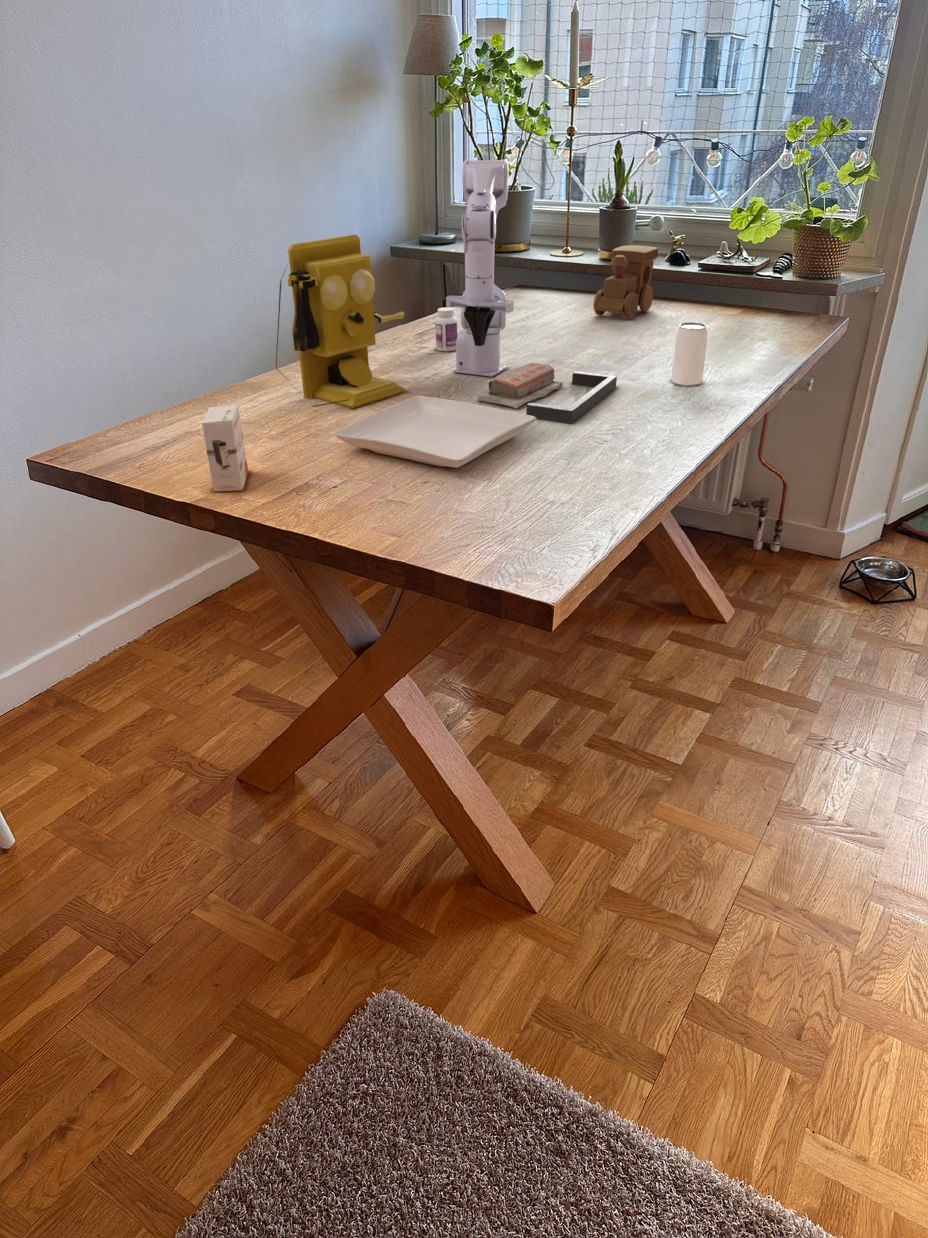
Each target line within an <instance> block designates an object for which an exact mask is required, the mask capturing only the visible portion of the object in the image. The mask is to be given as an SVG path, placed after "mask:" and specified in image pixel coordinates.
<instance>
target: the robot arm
mask: <svg viewBox="0 0 928 1238" xmlns="http://www.w3.org/2000/svg"><path fill="white" fill-rule="evenodd" d="M509 165H510V164H509V161H508V160H507V159H505V158H504V159H487V160H486V159H485V160H483V159H482V160H481V159H480V160H479V159H478V160H475V159H474V160H468V159H464V161H463V162H462V167H461V178H462V179H461V183H462V191H463V200H464V202H465V204H464V205H465V206H466V211H465V214H464V213H463V214H462V217H461V237H462V243H463V253H464V272H465V273H464V282H465V283H464V284H465V285H464V287H465V288H464V289H465V290H464V291H463V292H462V293H463V294H461V295H448V296H446V297H445V307H449V308H460V326H461V328H462V329H461V330H460V331H459V332H458V333H457V334H458V336H457V340H456V350H455V358H456V359H455V361H456V362H455V363H456V364H455V365H456V369H455V370H454V372H455V373H457V374H458V373H459V374H465V375H466V374H467V375H475V376H482V377H489V378H490V377H491V378H493V377H494V376H496V375H497V374H499V373H501V372H503V371H504V370H506V369H507V366H506V365H501V361H500V358H501V357H500V353H501V352H500V351H501V330H502V331H503V330H504V329H505V328H506V325H507V314H508V313H509V314H510V313H512V312H514V311H515V307H514V306H515V301H514V300H509V299H506V294H505V292H504V291H503V290H502V289H501V288H500V287H498V286H497V285H496V284H495V251H496V248H495V247H496V238H497V217H498V214H499V211H500V210H501V209H502V208H504V207H506V206H507V201H508V200H509V199H508V198H509V197H508V195H509V193H508V192H509V179H510V178H509V168H510V166H509Z"/></svg>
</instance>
